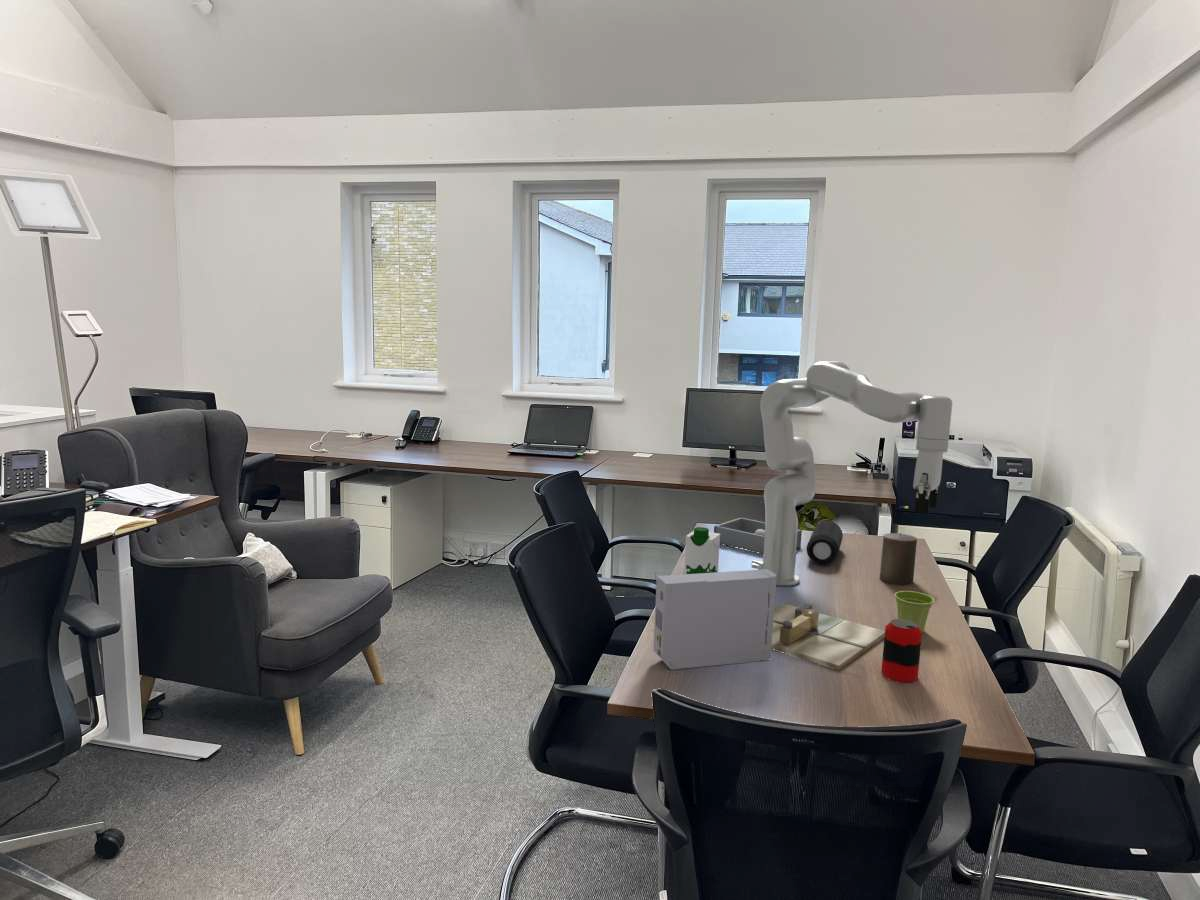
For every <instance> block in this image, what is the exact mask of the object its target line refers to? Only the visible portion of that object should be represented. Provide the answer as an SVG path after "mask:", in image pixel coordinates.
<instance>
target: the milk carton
mask: <svg viewBox="0 0 1200 900" xmlns="http://www.w3.org/2000/svg"><path fill="white" fill-rule="evenodd" d="M684 550H685V554H684V570H683V571H684V574H700V573H715V572H719V562H720V561H719V558H720V534H719V533H714V532H711V531H710V530H709V528H707V527H703V526H701V527H700V526H698V527H694V528H693V530H692V531H690V533H688V534H687V535H685V549H684Z"/></svg>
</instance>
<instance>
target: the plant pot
mask: <svg viewBox="0 0 1200 900" xmlns="http://www.w3.org/2000/svg"><path fill="white" fill-rule="evenodd" d="M894 597H895V599H896V600H895V601H896V607H897V619H904V620H909V621H912V622H914V623H916V624H917V625H918V627H919V628H920V630H921V631H922V634H923V633H924V631H925V628H926V623H927V620H928V616H929V613H930V609H931V608H932V605H933V604H934V603H935V599H934V597H932V596H931V595H929V594H926V593H922V592H918V591H914V590H913V591H911V590H900V591H897V592H895V593H894Z"/></svg>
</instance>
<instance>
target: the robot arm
mask: <svg viewBox="0 0 1200 900" xmlns="http://www.w3.org/2000/svg"><path fill="white" fill-rule="evenodd" d="M830 397H832V398H834V399H836V400H837V399H838V400H839V401H842V402H845V403H846V404H849V405H852V406H853V407H855V408H856V409H858V410H859V411H860V412H862V413H863V414H865V415H868V416H871V417H874V418H877V419H879V420H881V421H884V422H887V423H892V424H900V423H906V422H907V423H909V422H917V433H916V443H915V450H916V451H918V453H917V456H916V457H917V458H916V463H915V468H914V474H913V485H912V487H913V489H914V490H915V489H916V490H917V491H916V496H915V503H914V514H916V515H917V514H918V515H924V516H928V515H929V509H930V508H931V509H932V508H933V509H936V508H937V505H938V495H939V486H940V484H941V481H942V480H941V479H942V471H943V470H942V469H943V458H944V457H943V456H944V453H948V451H949V439H950V429H951V422H952V421H951V420H952V412H953V411H952V410H953V401H952V398H950V397H947V396H944V395H928V394H922V393H918V392H912V391H911V392H909V391H908V392H898V393H895V392H891V391H889V390H885V389H883V388H879V387H877V386H875V385H872V384H871V383H870V381H869V378H868V376H866V375H865V374H863V373H859V372H856V371H854V370H851V369H850V367H849V366H848V365H847V364H845V363H844V362H843V361H836V360H832V361H831V360H830V361H829V360H828V361H825V360H824V361H818V362H816V363H813V364H812V365H811V366H809V368H808V369H807V371H806V375H805V377H804V378H803V377H802V378H785V379H780V380H776V381H773V382H772V383H771V384H769V385H768V386H766V388H765V389H764V390H763V393H762V394H761V397H760V403H759V404H760V405H759V406H760V408H759V409H760V415H761V419H762V420H761V421H762V427H763V429H762V430H763V442H764V451H765V453H764V454H765V460H766V464H767V466H768V467H769V469H771V470H772V471H776V472H784V471H785V473H786V474H783V475H778V476H776V477H773V478H771V479H770V480H769V481H768V482H767V483H766V485H765V486H764V490H763V491H764V492H763V500H764V507H765V508H764V509H765V515H764V516H765V517H764V518H765V519H764V522H765V535H764V550H763V554H762V561H759V560H757V559H756V560H755V559H753V560H752V561H751V568H752V569H754V570H761V569H768V570H770V571H771V572H773V573H775V574H776V575H777V576H776V586H778V587H783V586H784V587H789V586H795V585H797V584H798V583H800V581H801V580H800V576H798V574H796V572H795V571H796V559H797V558H796V557H797V549H796V547H797V533H798V529H799V519H798V513H797V510H796V507H797V506H801V505H804V504H807V503H809V502H811V501H812V500H813V498H814V497H815V495H816V490H817V489H816V488H817V482H816V471H815V461H814V452H813V449H812V447H811V445H810V443H809V442H808V441H807V440H806V439H804V438H803V437H799V436H795V435H794V427H793V426H794V425H793V420H792V418H791V416H790V414H789V412H788V411H789V410H790V409H798V408H799V409H800V408H808V407H811V406H815V405H816V404H818V403H821V402H823V401H825V400H827V399H828V398H830Z"/></svg>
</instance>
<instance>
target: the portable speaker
mask: <svg viewBox="0 0 1200 900" xmlns="http://www.w3.org/2000/svg"><path fill="white" fill-rule="evenodd" d="M843 534H844V533H843V531H842V528H841V527H840V525H838V523H836V522H834V521H831V520H824V521H820V522H818V523H817V524H816V525H815V526H814V528H813V531H812V532H811V536H810V538H809V541H808V543H807V545H806V554H807V556H808V559H810V560H811V561H812V562H813V563H814V564H817V565H819V564H820V565H819V566H826V565H830V564H832V563H834V562H835V561H836V559H837V558H838V556H839V552H840V548H841V545H842V541H843V538H844V537H843V536H844V535H843Z"/></svg>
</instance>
